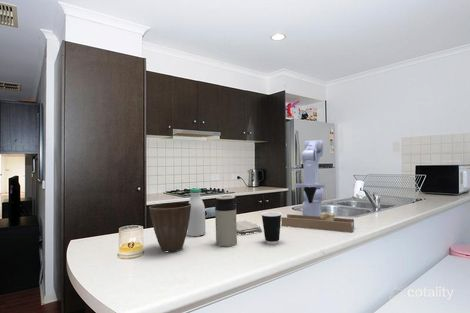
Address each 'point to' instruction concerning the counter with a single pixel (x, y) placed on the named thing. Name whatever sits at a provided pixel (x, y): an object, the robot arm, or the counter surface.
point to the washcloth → (247, 227)
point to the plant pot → (170, 224)
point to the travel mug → (225, 221)
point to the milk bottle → (196, 214)
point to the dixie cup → (271, 226)
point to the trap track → (318, 223)
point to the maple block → (327, 216)
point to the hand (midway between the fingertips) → (310, 202)
